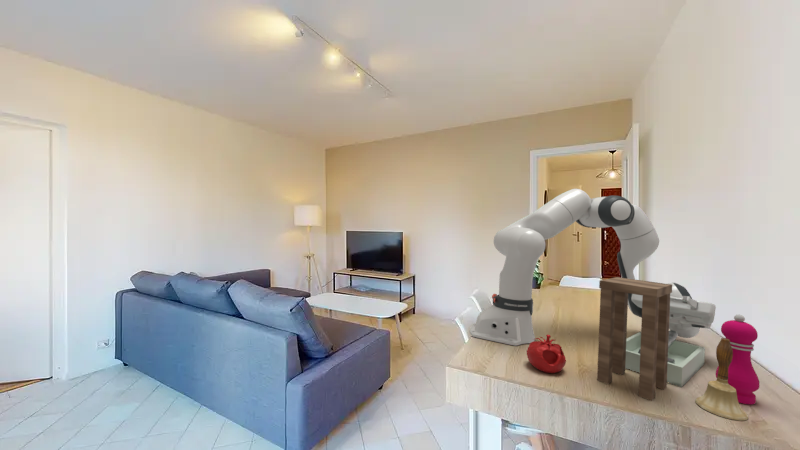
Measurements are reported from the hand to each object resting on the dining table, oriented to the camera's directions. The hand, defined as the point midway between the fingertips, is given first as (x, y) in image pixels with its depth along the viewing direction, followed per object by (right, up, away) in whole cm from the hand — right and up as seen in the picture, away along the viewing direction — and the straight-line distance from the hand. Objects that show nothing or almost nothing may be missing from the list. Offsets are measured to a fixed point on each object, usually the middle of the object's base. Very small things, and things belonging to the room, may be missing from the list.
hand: (665, 295), depth 96 cm
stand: (-22, -19, -15) cm, 33 cm away
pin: (0, -17, 0) cm, 17 cm away
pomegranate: (-40, -19, -8) cm, 45 cm away
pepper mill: (0, -20, -21) cm, 29 cm away
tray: (-5, -20, -3) cm, 21 cm away
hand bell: (-9, -20, -26) cm, 34 cm away
